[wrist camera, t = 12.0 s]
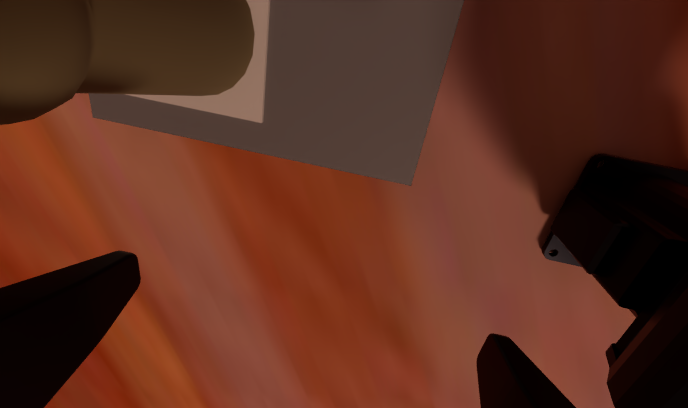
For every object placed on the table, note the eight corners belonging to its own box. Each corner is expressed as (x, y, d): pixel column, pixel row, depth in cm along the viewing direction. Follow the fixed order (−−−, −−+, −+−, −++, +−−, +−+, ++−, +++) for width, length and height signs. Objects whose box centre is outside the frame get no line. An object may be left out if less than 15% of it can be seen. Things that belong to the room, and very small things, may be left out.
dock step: (475, -63, 14) (488, -82, 12) (409, 173, 19) (411, 187, 17) (87, -128, 15) (40, -156, 13) (120, 111, 20) (89, 117, 18)
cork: (106, 6, 15) (-425, -79, 5) (194, -88, 13) (-405, -502, 3) (191, 118, 17) (-93, 210, 7) (280, 51, 15) (53, 49, 5)
